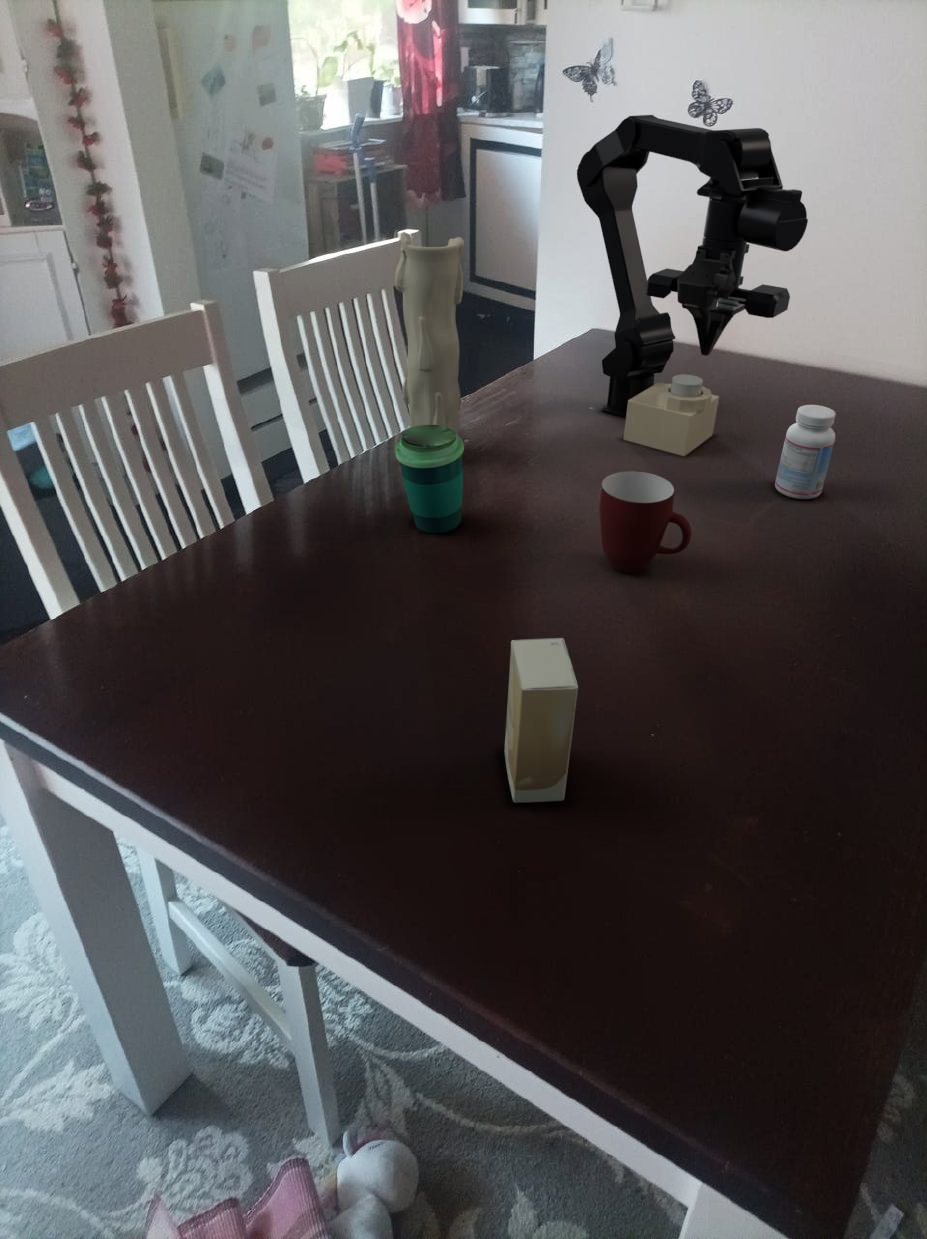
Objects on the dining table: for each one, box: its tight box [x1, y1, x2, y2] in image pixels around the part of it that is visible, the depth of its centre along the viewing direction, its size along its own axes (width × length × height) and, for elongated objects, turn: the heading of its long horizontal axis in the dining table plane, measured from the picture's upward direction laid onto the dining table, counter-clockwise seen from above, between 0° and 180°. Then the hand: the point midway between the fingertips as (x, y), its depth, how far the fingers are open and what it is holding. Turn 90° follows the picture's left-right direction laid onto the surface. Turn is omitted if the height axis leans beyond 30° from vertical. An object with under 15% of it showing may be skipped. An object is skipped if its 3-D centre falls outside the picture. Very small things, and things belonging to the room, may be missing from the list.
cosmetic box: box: [504, 637, 579, 804], centre depth 69 cm, size 6×4×12 cm
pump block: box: [623, 381, 720, 457], centre depth 130 cm, size 11×10×8 cm
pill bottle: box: [774, 404, 837, 500], centre depth 114 cm, size 6×6×11 cm
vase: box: [394, 231, 465, 436], centre depth 117 cm, size 9×8×30 cm
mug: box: [598, 470, 692, 574], centre depth 98 cm, size 10×8×10 cm
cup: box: [395, 425, 465, 535], centre depth 105 cm, size 8×8×12 cm
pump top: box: [670, 374, 704, 398], centre depth 125 cm, size 4×4×2 cm
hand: (705, 354), depth 124 cm, fingers closed
